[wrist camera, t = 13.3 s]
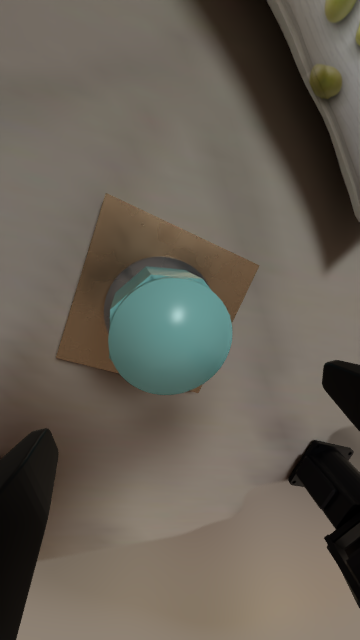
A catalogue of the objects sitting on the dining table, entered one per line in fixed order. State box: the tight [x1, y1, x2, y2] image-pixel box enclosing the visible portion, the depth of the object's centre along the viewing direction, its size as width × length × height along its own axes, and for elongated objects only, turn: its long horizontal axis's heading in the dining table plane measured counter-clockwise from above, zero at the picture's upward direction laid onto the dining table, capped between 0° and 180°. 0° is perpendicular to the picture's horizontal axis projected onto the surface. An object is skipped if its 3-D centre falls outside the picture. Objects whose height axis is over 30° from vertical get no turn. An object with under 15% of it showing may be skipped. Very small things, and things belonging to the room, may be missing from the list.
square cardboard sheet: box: [56, 193, 259, 393], centre depth 16 cm, size 12×12×5 cm
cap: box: [108, 266, 232, 395], centre depth 14 cm, size 6×6×5 cm
